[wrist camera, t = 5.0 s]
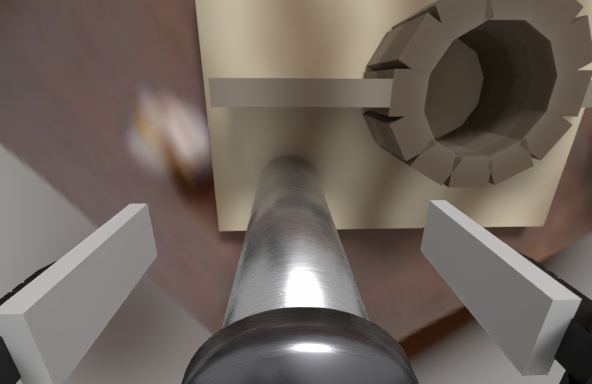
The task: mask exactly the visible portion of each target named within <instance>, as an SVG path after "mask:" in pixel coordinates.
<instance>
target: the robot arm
mask: <svg viewBox="0 0 592 384" xmlns="http://www.w3.org/2000/svg"><path fill="white" fill-rule="evenodd" d="M420 251H421V252H422V253H423V254H424V256H425V257H426V258H427V259H428V261H429V262H430V263H431V264H432V266H433V267H434V268H435V269H436V270H437V272H438V273H439V274H440V275H441V277H442V278H443V279H444V280H445V281H446V283H447V284H448V285H449V286H450V288H451V289H452V290H453V291H454V292H455V294H456V295H457V296H458V297H459V299H460V300H461V301H462V302H463V304H464V305H465V306H466V307H467V308H468V310H469V311H470V312H471V313H472V315H473V316H474V317H475V318H476V319H477V321H478V322H479V323H480V324H481V326H482V327H483V328H484V329H485V330H486V332H487V333H488V334H489V335H490V337H491V338H492V339H493V340H494V341H495V343H496V344H497V345H498V346H499V348H500V349H501V350H502V351H503V353H504V354H505V355H506V356H507V358H508V359H509V360H510V361H511V362H512V364H513V365H514V366H515V367H516V369H517V370H518V371H519V372H520V373H521V375H522V376H524V375H548V373H549V371H550V368H551V366H552V364H553V361H554V360H555V359H556V360H557V361H558V362H559V363H560V364H561V366H562V367H563V368H564V369H565V370H566V371H565V373H564V375H563V377H562V379H561V381H560V383H559V384H592V300H590V299H589V298H587V297H586V296H585V295H583V294H582V293H580V292H579V291H578V290H576V289H575V288H573V287H572V286H570V285H569V284H568V283H566V282H565V281H563V280H562V279H558V277H557V276H556V275H555V274H553V273H552V272H550V271H547V269H546V268H545V267H544V266H542V265H541V264H539V263H538V262H536V261H535V260H534V259H532V258H530V257H527V256H525V255H523V254H521V253H519V252H516V251H515V250H513V249H512V248H511V247H509V246H508V245H506V244H505V243H504V242H502V241H501V240H500V239H498V238H497V237H495V236H494V235H493V234H491V233H490V232H489V231H487V230H486V229H484V228H483V227H482V226H480V225H479V224H477V223H476V222H475V221H473V220H472V219H471V218H469V217H468V216H466V215H465V214H464V213H462V212H461V211H460V210H458V209H457V208H455V207H454V206H453V205H451V204H450V203H449V202H447V201H446V200H430V201H429V206H428V211H427V217H426V222H425V228H424V233H423V238H422V244H421V249H420ZM156 257H157V250H156V245H155V240H154V235H153V230H152V225H151V220H150V215H149V210H148V205H147V204H129V205H128V206H127V207H125V208H124V209H123V210H122V211H120V212H119V213H118V214H117V215H115V216H114V217H113V218H111V219H110V220H109V221H108V222H106V223H105V224H104V225H103V226H101V227H100V228H99V229H98V230H96V231H95V232H94V233H92V234H91V235H90V236H89V237H87V238H86V239H85V240H84V241H82V242H81V243H80V244H79V245H77V246H76V247H75V248H73V249H72V250H71V251H70V252H68V253H67V254H66V255H64V256H63V257H62V258H61V259H59V260H58V261H55V262H53V263H52V264H50V265H48V266H46V267H44V268H42V269H40V270H38V271H37V272H35V273H34V274H33V275H31V276H30V277H29V278H27V279H26V280H25V281H24V283H21V284H19V285H18V286H17V287H16V288H14V289H13V290H12V292H9V293H8V294H6V295H5V296H4V297H3V298H1V299H0V384H16V383H17V381H18V380H19V379H21V381H22V382H23V384H64V382H65V381H66V379H67V378H68V377H69V375H70V374H71V372H72V371H73V370H74V368H75V367H76V366H77V365H78V363H79V362H80V360H81V359H82V358H83V356H84V355H85V354H86V352H87V351H88V349H89V348H90V347H91V345H92V344H93V343H94V341H95V340H96V339H97V337H98V336H99V334H100V333H101V332H102V330H103V329H104V328H105V326H106V325H107V324H108V322H109V321H110V319H111V318H112V317H113V315H114V314H115V313H116V311H117V310H118V308H119V307H120V306H121V304H122V303H123V302H124V300H125V299H126V298H127V296H128V295H129V294H130V292H131V291H132V289H133V288H134V287H135V285H136V284H137V283H138V281H139V280H140V279H141V277H142V276H143V274H144V273H145V272H146V270H147V269H148V268H149V266H150V265H151V264H152V262H153V261H154V259H155V258H156Z"/></svg>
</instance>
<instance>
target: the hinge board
mask: <svg viewBox="0 0 592 384" xmlns="http://www.w3.org/2000/svg"><path fill="white" fill-rule="evenodd" d="M195 3H196V13H197V23H198V32H199V42H200V51H201V61H202V71H203V80H204V90H205V99H206V109H207V119H208V128H209V138H210V148H211V157H212V167H213V176H214V186H215V196H216V205H217V215H218V224H219V231H246V230H247V226H248V222H249V218H250V214H251V210H252V207H253V203H254V199H255V195H256V191H257V187H258V183H259V179H260V176H261V173H262V171H263V169H264V168H265V166H266V165H267V164H268V163H269V162H270V161H272V160H273V159H275V158H278V157H281V156H287V155H291V156H297V157H300V158H302V159H304V160H306V161H307V162H309V163H310V164H311V165H312V167H313V168H314V169H315V171H316V173H317V176H318V179H319V182H320V185H321V187H322V190H323V193H324V196H325V199H326V201H327V204H328V207H329V210H330V213H331V215H332V218H333V221H334V224H335V226H336V229H388V228H425V222H426V217H427V211H428V206H429V201H430V200H446V201H447V202H449V203H450V204H451V205H453V206H454V207H455V208H457V209H458V210H460V211H461V212H462V213H464V214H465V215H466V216H468V217H469V218H471V219H472V220H473V221H475V222H476V223H477V224H479V225H480V226H482V227H517V226H543V225H544V223H545V220H546V217H547V214H548V211H549V208H550V206H551V203H552V200H553V197H554V194H555V192H556V189H557V186H558V183H559V180H560V177H561V175H562V172H563V169H564V166H565V163H566V160H567V158H568V155H569V152H570V149H571V146H572V143H573V141H574V138H575V135H576V132H577V129H578V126H579V124H580V121H581V118H582V115H583V112H584V109H585V108H592V0H195Z"/></svg>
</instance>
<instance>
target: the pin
mask: <svg viewBox="0 0 592 384" xmlns="http://www.w3.org/2000/svg"><path fill="white" fill-rule="evenodd" d="M181 384H419V382H418V380H417V378H416V376H415V373H414V371H413V369H412V367H411V364H410V362H409V360H408V358H407V356H406V354H405V352H404V350H403V349H402V348H401V346H400V345H399V343H398V342H397V341H396V340H395V339H394V338H393V337H392V336H391V335H390V334H389V333H387V332H386V331H385V330H383V329H382V328H380V327H379V326H378V325H376V324H374V323H372V322H370V321H369V319H368V316H367V313H366V310H365V307H364V305H363V302H362V299H361V296H360V294H359V291H358V288H357V285H356V282H355V280H354V277H353V274H352V271H351V268H350V266H349V263H348V260H347V257H346V254H345V252H344V249H343V246H342V243H341V240H340V238H339V235H338V232H337V229H336V226H335V224H334V221H333V218H332V215H331V213H330V210H329V207H328V204H327V201H326V199H325V196H324V193H323V190H322V187H321V185H320V182H319V179H318V176H317V173H316V171H315V169H314V168H313V167H312V165H311V164H310V163H309V162H307V161H306V160H304V159H302V158H300V157H297V156H291V155H287V156H281V157H278V158H275V159H273V160H272V161H270V162H269V163H268V164H267V165H266V166H265V168H264V169H263V171H262V173H261V176H260V179H259V183H258V187H257V191H256V195H255V199H254V203H253V207H252V210H251V214H250V218H249V222H248V226H247V230H246V234H245V238H244V242H243V246H242V250H241V254H240V257H239V261H238V265H237V269H236V273H235V277H234V281H233V285H232V289H231V293H230V297H229V301H228V304H227V308H226V312H225V316H224V320H223V324H222V328H221V330H220V331H218V332H217V333H216V334H214V335H213V336H212V337H210V338H209V339H208V340H207V341H206V342H205V343H204V344H203V345H202V346H201V347H200V348H199V349H198V351H197V352H196V353H195V355H194V356H193V357H192V359H191V361H190V363H189V365H188V367H187V369H186V371H185V374H184V377H183V380H182V383H181Z"/></svg>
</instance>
